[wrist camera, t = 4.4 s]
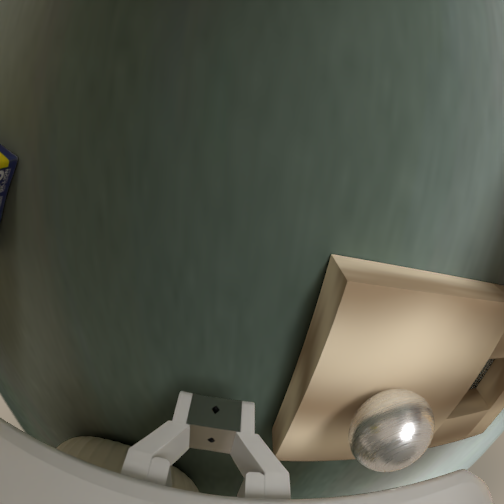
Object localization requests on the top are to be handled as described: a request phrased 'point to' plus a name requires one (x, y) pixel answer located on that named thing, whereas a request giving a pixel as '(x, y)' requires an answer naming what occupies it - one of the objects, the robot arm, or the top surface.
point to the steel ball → (391, 430)
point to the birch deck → (393, 355)
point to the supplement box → (6, 173)
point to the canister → (114, 457)
